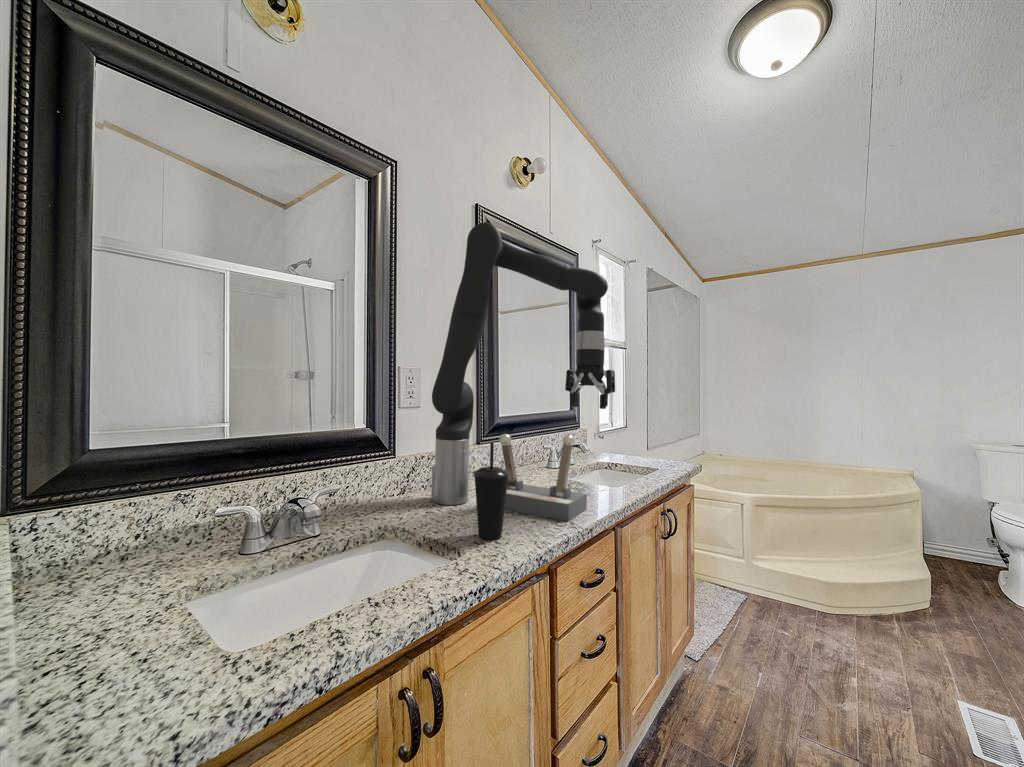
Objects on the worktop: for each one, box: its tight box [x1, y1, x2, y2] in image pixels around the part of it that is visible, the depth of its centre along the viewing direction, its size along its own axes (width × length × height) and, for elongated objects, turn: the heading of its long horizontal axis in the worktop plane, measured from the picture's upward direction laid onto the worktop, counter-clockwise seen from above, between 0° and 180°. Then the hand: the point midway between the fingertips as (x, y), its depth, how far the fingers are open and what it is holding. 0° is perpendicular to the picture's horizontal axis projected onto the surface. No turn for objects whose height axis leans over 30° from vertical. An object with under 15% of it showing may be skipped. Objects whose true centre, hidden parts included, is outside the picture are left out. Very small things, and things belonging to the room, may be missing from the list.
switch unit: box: [504, 480, 588, 522], centre depth 114 cm, size 24×12×6 cm, turn 60°
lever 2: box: [555, 434, 575, 493], centre depth 112 cm, size 3×3×15 cm
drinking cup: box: [472, 441, 509, 541], centre depth 91 cm, size 8×8×20 cm
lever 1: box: [498, 433, 518, 487], centre depth 115 cm, size 3×3×15 cm
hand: (588, 407), depth 117 cm, fingers open, 8 cm apart
